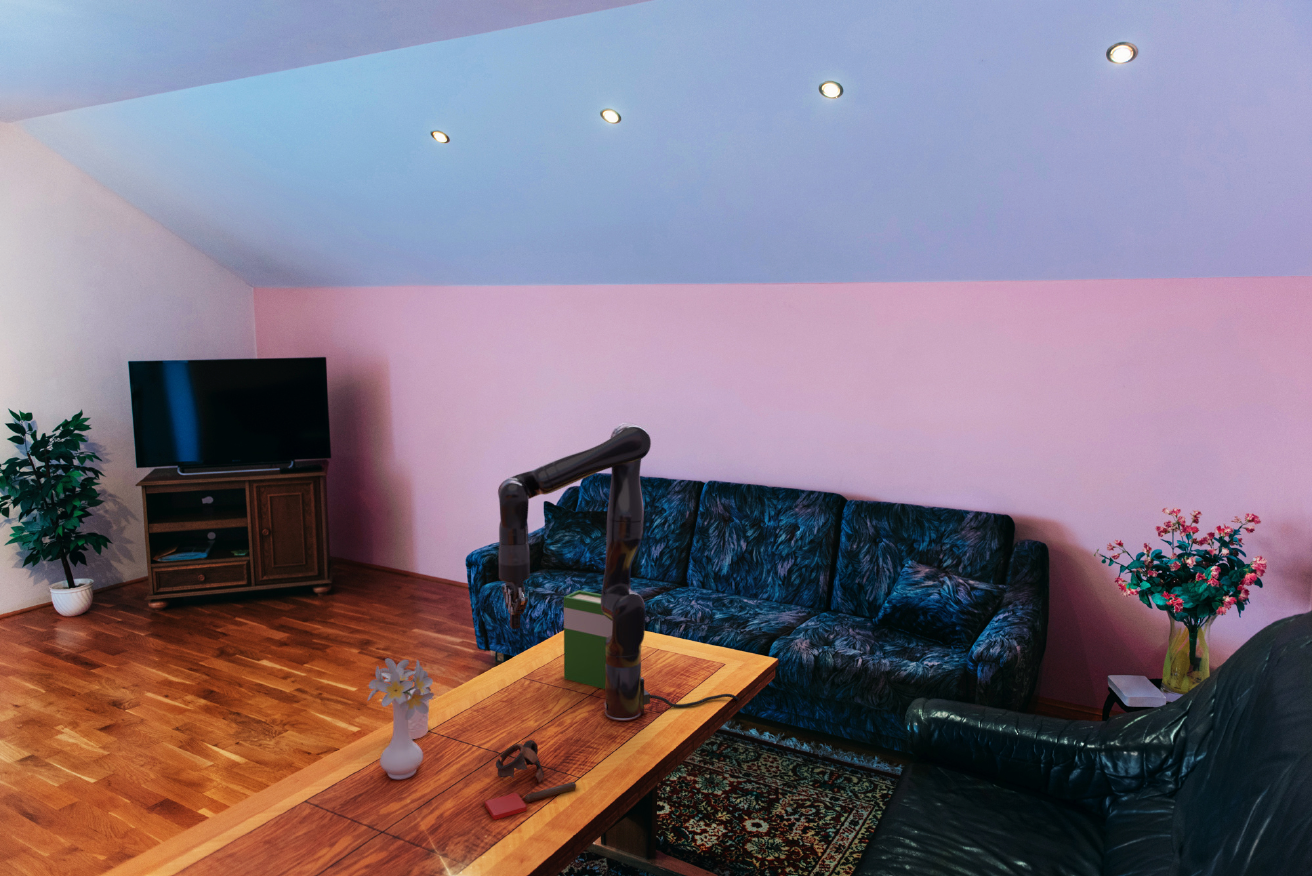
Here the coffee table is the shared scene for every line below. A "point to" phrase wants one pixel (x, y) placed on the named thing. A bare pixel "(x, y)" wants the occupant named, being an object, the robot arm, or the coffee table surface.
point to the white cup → (418, 722)
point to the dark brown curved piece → (520, 760)
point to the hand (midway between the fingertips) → (515, 627)
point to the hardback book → (585, 638)
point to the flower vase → (402, 714)
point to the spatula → (515, 804)
